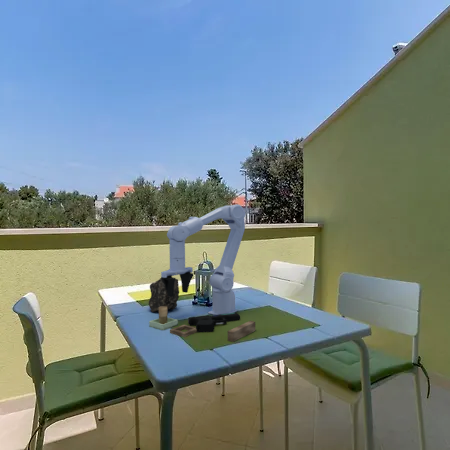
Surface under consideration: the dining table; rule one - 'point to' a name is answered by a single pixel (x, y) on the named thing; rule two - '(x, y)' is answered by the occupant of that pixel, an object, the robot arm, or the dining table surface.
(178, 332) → the socket
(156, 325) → the tray
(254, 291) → the dining table surface
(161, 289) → the rock
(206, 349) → the dining table surface
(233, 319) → the handgun
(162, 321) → the dowel
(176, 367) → the dining table surface
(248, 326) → the rail
